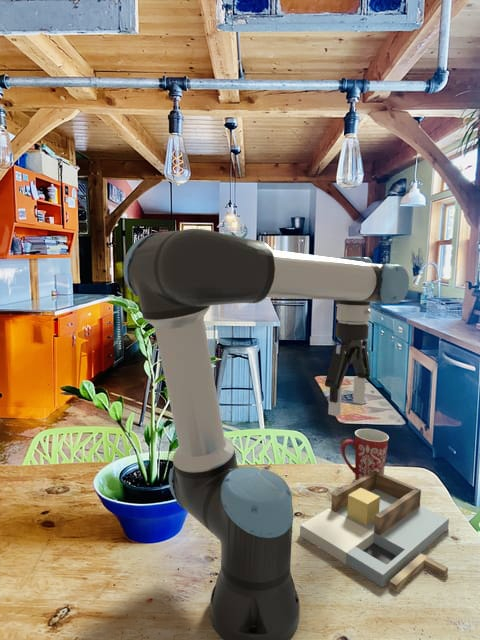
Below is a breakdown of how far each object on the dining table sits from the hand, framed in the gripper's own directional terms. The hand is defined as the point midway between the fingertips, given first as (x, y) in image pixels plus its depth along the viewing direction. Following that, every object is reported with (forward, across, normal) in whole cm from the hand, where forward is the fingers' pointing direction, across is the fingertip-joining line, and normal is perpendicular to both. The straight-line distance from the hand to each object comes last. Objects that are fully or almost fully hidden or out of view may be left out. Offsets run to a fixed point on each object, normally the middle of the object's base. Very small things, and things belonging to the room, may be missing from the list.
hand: (346, 408), depth 104 cm
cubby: (+22, 0, -9) cm, 24 cm away
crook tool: (+25, -15, -23) cm, 37 cm away
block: (+22, -6, -8) cm, 24 cm away
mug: (+24, +15, 0) cm, 28 cm away
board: (+24, -6, -11) cm, 28 cm away
